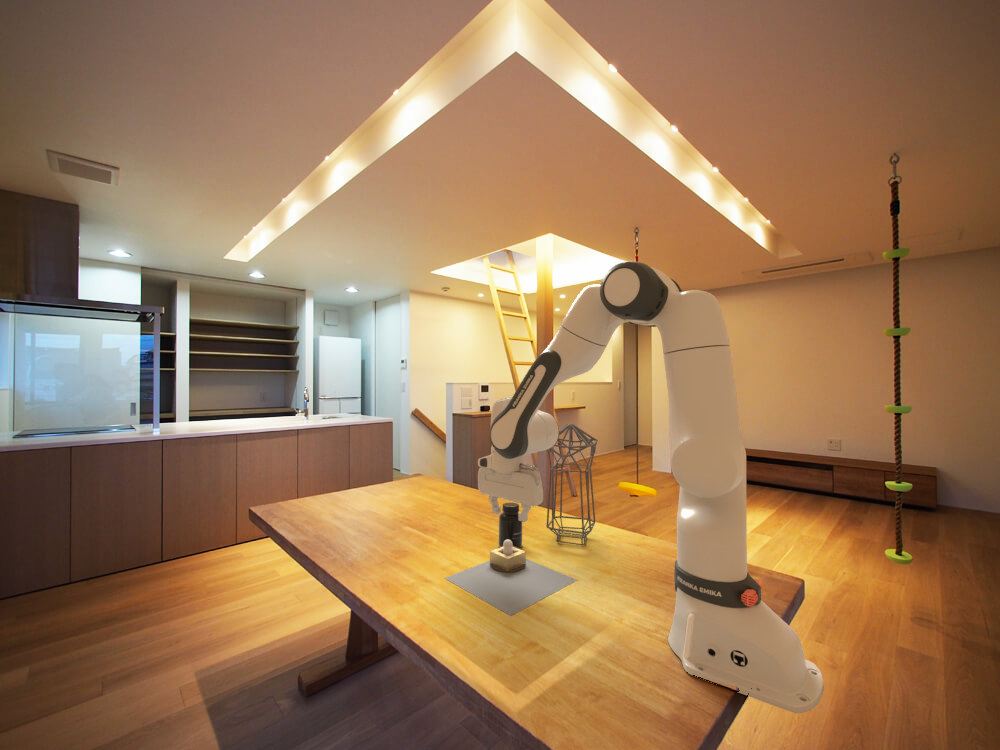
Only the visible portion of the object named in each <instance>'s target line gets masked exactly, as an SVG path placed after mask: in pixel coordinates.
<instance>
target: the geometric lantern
mask: <svg viewBox="0 0 1000 750" xmlns="http://www.w3.org/2000/svg"><path fill="white" fill-rule="evenodd" d="M573 431H574V433H575V435H576V437H577V439H578V440H574V437H573V435H574V434H573ZM564 432H565V433H564ZM563 433H564V435H563V437H562V438H559V437H560V436H561V435H562V434H563ZM568 433H569V434H568ZM567 435H568V439H566V437H567ZM559 437H558V440H557V443H560V444H555V445H554V446H553V447H557V448H558V450H559V452H557V451H556V450H555V449H553V447H552V448H549V449H547V450H546V452H547V457H548V463H549V481H548V482H549V483H548V497H547V511H546V512H547V514H546V529H549V530H550V531H551V532H552V533H553V534H554V535H555V536H556V542H558V543H561V544H562V543H563V544H569V545H576V546H577V545H578V546H585V545H586V544H587V538H588V535H589V534H590V533H592V531H593V528H594V527H595V524H596V512H595V500H594V488H593V478H592V465H593V461H594V456H595V454H596V449H597V448H596V447H597V444H598V441H599V440H598V439H597V438H595V437H593V436H592V435H590V434H588V433H587V432H586V431H584V430H583V429H581V428H579V427H578V426H576V425H575V424H573V423H569V424H568V423H567V424H565V426H563V427H562V428H561V429H559ZM593 441H594V442H593ZM564 442H568V445H567V444H566V443H564ZM573 443H579V445H573ZM582 443H584V444H583V445H582ZM589 447H590V454H589V459H588V461H587V460H586V458H585V456H584V454H583V452H582V451H583V450H586V449H587V448H589ZM565 448H566V449H568V451H567V453H566V454H562V451H561V450H562V449H565ZM571 451H574V452H572V453H571ZM550 453H552V455H553V457H554V460H555V462H556V463H554V464H553V465H552V462H551V461H552V460H551V454H550ZM578 453H580V454H581V457H582V459H583V460H584V462H585V464H584V463H583V464H582V463H581V464H580V463H577V461H576V460H575V457H574V455H576V454H578ZM555 455H557V456H559V459H558V460H557V458H556V456H555ZM568 457H570V458H571V459H572V461H573V462H574V463H565V461H566V459H567V458H568ZM561 458H563V460H562V461H561V462H560V460H561ZM559 462H560V463H559ZM564 465H565V466H566V465H567V466H576V467H577V469H578V470H571V469H570V470H569V469H564V468H563V467H564ZM558 466H561V467H560V469H558V468H559V467H558ZM580 466H581V467H582V466H585V467H586V468H585V470H581V468H580ZM554 472H555V473H554ZM558 472H560V504H559V515H557V516H556V507H557V505H556V504H557V486H558V484H557V482H558ZM563 472H566V473H567V472H568V473H569V472H570V473H578V474H579V489H580V491H579V492H580V493H579V494H580V510H581V511H580V512H581V516H580V517H578V516H577V517H576V516H568V515H567V516H566V515H563V513H562V512H563V511H562V510H563V480H564V479H563V478H564V476H563V474H564V473H563ZM582 474H584V475H585V476H584V477H585V490H586V500H587V502H586V503H587V504H586V505H587V517H584V503H583V501H584V499H583V481H582V480H583V479H582ZM590 493H591V504H592V515H593V517H592V518H591V509H590ZM550 500H551V501H550ZM550 504H551V520H550ZM557 519H559V520H560V524H561V525H560V524H559V523H558V521H557ZM562 519H572V520H573V519H574V520H581V527H571V526H563V520H562ZM585 520H586V523H584V522H585ZM555 523H556V524H557V526H558V528H556V527H555V526H554V525H555ZM587 524H588V526H587ZM571 529H573V530H571ZM577 530H578V531H577ZM579 530H581V531H579ZM563 534H564V535H563ZM571 534H572V535H571ZM561 537H562V538H563V537H564V538H573V539H581V541H580V542H581V543H578V542H577V543H576V542H570V541H569V542H568V541H564V540H563V541H562V540H561Z"/></svg>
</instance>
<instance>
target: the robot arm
mask: <svg viewBox="0 0 1000 750" xmlns="http://www.w3.org/2000/svg"><path fill="white" fill-rule="evenodd" d="M624 323H625V324H626V323H629V324H631V325H638V326H645V327H649V328H657V329H658V331H659V334H660V336H661V337H660V338H661V343H662V353H663V361H664V362H663V363H664V370H665V378H666V387H667V396H668V437H669V438H668V440H669V441H668V443H669V457H670V469H671V472H672V475H673V478H674V480H675V481H676V482H677V484H678V485H679V495H678V506H677V514H676V560H675V562H674V570H673V571H674V572H673V581H674V591H675V594H676V595H675V604H674V613H673V618H672V624H671V627H670V631H669V634H668V638H667V640H668V645H669V646H670V648H671V650H672V651H673V652H674V653H675V655H676V656H677V657H678V658H679V659H680V660H681V663H682V666H683V669H684V670H685V672H686V673H687V672H688V673H687V674H689V675H690V676H693V675H695V676H694V677H696V676H697V677H696V678H698V677H701V678H704V679H708V680H711V681H714V682H718V683H722V684H724V685H730V686H737V687H738V688H739V690H740V691H739V692H738V694H742V695H744V696H747V695H748V693H749V695H748V696H747V697H749V698H752V699H754V700H758V701H761V702H763V703H766V704H769V705H771V706H774V707H776V708H779V709H782V710H785V711H787V712H790V713H794V714H803V713H807V712H809V711H812V710H813V709H815V708H816V707H817V706H818V705H819V703H820V701H821V699H822V698H823V694H824V689H825V688H824V687H825V685H824V678H823V674H822V672H821V670H820V669H819V667H818V666H817V665H816V664H815V663H814V662H812V661H810V660H808V659H807V658H806V657H805V653H804V649H803V645H802V642H801V639H800V637H799V635H798V634H797V631H795V629H794V628H792V627H791V626H790V625H789V624H788V623H786V621H785V620H784V619H782V618H781V617H780V616H779V615H778V614H777V613H776V612H775V611H773V609H771V608H770V607H769V606H768V605H767V604H766V603H765V602H764V601H763V600H762V588H763V579H760V580H759V581H758V582H757V581H756V580H755V579H754V578H753V577H752V575H750V573H749V571H748V543H747V542H748V541H747V540H748V539H747V536H748V533H747V522H748V521H747V516H748V515H747V453H746V448H745V445H744V443H743V441H742V436H741V426H740V425H741V423H740V416H739V409H738V398H737V389H736V382H735V374H734V366H733V360H732V359H733V358H732V352H731V344H730V339H729V333H728V329H727V324H726V322H725V317H724V314H723V311H722V309H721V305H720V303H719V301H718V298H716V296H715V295H714V294H712V293H710V292H708V291H705V290H699V289H691V290H686V291H682V288H681V287H680V285H679V284H678V283H677V282H676V280H674V279H673V278H671V277H669V276H668V275H667V274H665V273H664V272H663V271H661V270H660V269H657V268H655V267H653V266H649V265H648V264H646V263H643V262H641V261H623V262H620V263H617V264H615V265H614V266H612V267H611V268H610V269H608V271H607V272H606V273H605V275H604V276H603V278H602V281H601V283H600V284H590V285H587V286H585V287H584V288H583V289H581V290H580V292H579V293H578V295H577V296H576V298H575V299H574V301H573V302H572V304H571V305H570V306H569V308H568V310H567V311H566V314H565V315H564V318H563V320H562V321H561V323H560V326H559V327H558V329H557V331H556V333H555V335H554V336H553V338H552V340H551V341H550V342H549V344H548V345H547V347H546V348H545V349H544V350H543V351H542V352H541V353H540V354H539V356H537V358H536V359H535V360H534V361H533V363H532V365H531V366H530V367H529V369H528V370H527V372H526V374H525V376H524V377H523V379H522V381H521V382H520V384H519V386H518V387H517V389H516V391H515V392H514V394H513V396H512V397H507V398H500V399H498V400H496V401H495V402H494V403H493V405H492V408H491V414H490V428H489V440H490V443H491V447H490V454H489V455H486V456H483V457H480V458H478V460H477V465H478V467H479V468H478V471H477V489H478V491H479V493H480V494H482V495H486V496H488V500H489V503H490V505H491V512H492V514H494V515H500V514H501V513H502V510H501V509H502V507H501V505H499V502H498V499H502V500H506V501H508V502H509V501H510V502H512V503H517V504H520V506H521V507H520V508H521V509H522V510H521V512H519V513H520V514H518V517H519V518H518V520H519V521H521V522H522V523H525V522H527V521H528V515H529V513H530V511H531V508H532V507H536V506H539V505H541V504H542V503H543V501H544V490H543V483H542V478H541V471H540V470H539V469H538V468H537V467H536V466H535V465H529V464H527V455H530V454H535V453H538V452H539V453H540V452H542V451H543V452H544V451H547V449H548V450H549V448H552V449H553V447H555V446H554V445H557V443H558V441H557V440H558V438H559V437H560V436H559V431H560V428H559V427H560V426H559V424H558V422H557V419H556V418H555V416H553V414H551V413H550V412H546V411H542V410H540V408H541V406H542V404H543V402H544V401H545V399H546V398H547V397H548V395H549V393H550V392H551V391H552V390H553V389H554V388H555V387H557V386H558V385H560V384H562V383H563V382H565V381H567V380H570V379H571V378H575V377H577V376H581V375H583V374H586V373H587V372H590V371H591V370H592V369H593V367H595V365H596V364H598V362H599V361H600V359H601V358H602V356H603V354H604V352H605V350H606V348H607V346H608V344H609V342H610V340H611V338H612V336H613V335H614V334H615V331H616V330H617V328H619V327H620V326H621V325H622V324H624ZM701 678H700V679H701ZM704 679H703V680H704ZM751 688H752V689H751Z"/></svg>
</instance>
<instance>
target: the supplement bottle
mask: <svg viewBox="0 0 1000 750" xmlns="http://www.w3.org/2000/svg"><path fill="white" fill-rule="evenodd" d="M519 504H520V503H517V502H504V503H503V504H502V508H501V509H502V510H501V513H500V514H499V517H498V545H499V548H500V547H503V543H504V541H505V540H507V539H509V540H511V541H512V543H513V547H515V548H518V549H520V548H522V546H523V522H521V521H519V520H518V518H519V517H518V514H520V513H521V512H520V505H519Z"/></svg>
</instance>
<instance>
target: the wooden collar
mask: <svg viewBox="0 0 1000 750" xmlns="http://www.w3.org/2000/svg"><path fill="white" fill-rule="evenodd" d="M526 555H527V552H526V551H525V550H524V549H520V548H518V547H515V546H513V554H511V555H509V556H507V555H505V554H503V547H500V546H499V547H497V548H495V549H492V550H490V551H489V561H490V564H492V565H495V566H497V567H499V568H501V569H503V570H505V571H510V570H512V569H515V568H517V567H519V566H522V565H524V564H526V559H527V558H526V557H527V556H526Z"/></svg>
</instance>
